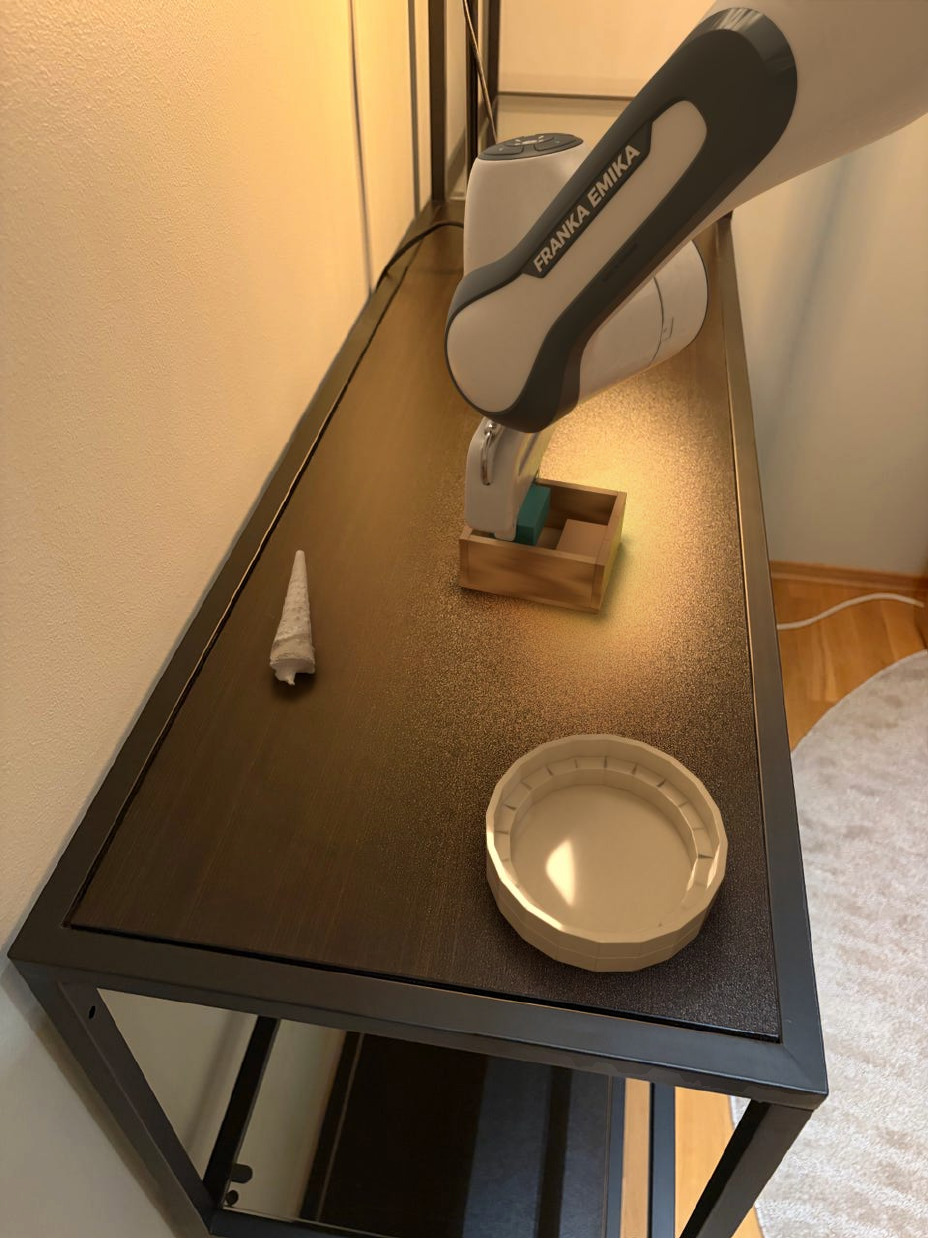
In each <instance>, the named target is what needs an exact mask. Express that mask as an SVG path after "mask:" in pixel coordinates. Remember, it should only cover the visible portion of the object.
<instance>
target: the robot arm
mask: <svg viewBox="0 0 928 1238" xmlns="http://www.w3.org/2000/svg"><path fill="white" fill-rule="evenodd" d="M926 114H928V0H715V1H714V2H713V4H712V5H711V6H710V7H709V9H708V10H707V11H706V12H705V13H704V15H702V17H701V18H700V20H699V21H697V23H696V25H695V26H694V27H693V28H692V30H691V31H690V32H689V33H688V34H687V36H686V37H685V38H684V39H683V41H681V42H680V44H679V45H678V47H676V48H675V50H674V51H673V52H672V54H671V55H670V56H669V57H668V59H666V60H665V62H664V63H663V64H662V66H660V68H658V70H656V72H655V73H654V74H653V75H652V76H651V77H650V78H649V80H648V81H646V83H645V84H644V85H643V87H642V88H641V89H640V90H639V91H638V93H637V94H636V95H635V96H634V97H633V99H632V100H631V101H630V102H629V103H628V105H627V106H626V107H625V108H624V109H623V111H622V112H621V113H620V114H619V115H618V116H617V118H616V119H615V120H614V121H613V123H612V124H611V125H610V127H608V129H607V130H606V132H605V133H604V134H603V135H602V137H601V138H600V140H598V142H597V143H596V144H595V146H594V147H593V148H592V147H591V146H590V145H589V143H588V142H587V141H586V140H584V139H583V138H582V137H579V136H576V135H574V134H570V133H564V132H545V133H535V134H532V135H527V136H523V135H522V136H517V137H514V138H510V139H507V140H504V141H500V142H498V143H495V144H492V145H491V146H488V147H487V148H485V149H484V150H483V151H482V152H481V153H480V154H479V155H478V156H477V157H476V158H475V159H474V162H473V164H472V167H471V170H470V173H469V177H468V182H467V188H466V194H465V204H464V205H465V206H464V219H463V277H462V279H461V280H460V281H459V283H458V284H457V286H456V288H455V291H454V293H453V296H452V299H451V302H450V305H449V308H448V312H447V316H446V322H445V327H444V338H443V339H444V341H443V350H444V360H445V365H446V369H447V372H448V374H449V378H450V379H451V382H452V384H453V385H454V387H455V389H456V391H457V392H458V394H459V395H460V396H461V399H463V400H464V401H465V402H466V403H467V404H468V405H469V406H470V407H471V408H472V409H473V410H474V411H476V412H477V413H479V414H480V415H482V416H483V417H482V418H481V421H480V422H479V425H478V426H477V429H475V432H474V433H473V435H472V438H471V441H470V443H469V447H468V450H467V456H466V465H465V475H464V476H465V477H464V480H465V481H464V500H463V501H464V503H463V504H464V505H463V508H464V509H463V511H464V512H463V514H464V515H463V516H464V517H463V518H464V522H465V524H467V525H468V526H469V527H470V528H472V529H475V530H480V531H484V532H490V533H494V536H495V537H496V538H497V539H501V540H506V541H512V540H514V538H515V536H516V533H517V531H518V523H519V515H518V513H519V510H520V508H521V506H522V504H523V501H524V499H525V497H526V494H527V492H528V490H529V488H530V485H534V486H537V485H538V482H539V478H541V477H540V475H541V466H542V461H543V458H544V456H545V453H546V452H547V449H548V448H549V445H550V442H551V440H552V438H553V436H554V433H555V431H556V429H557V427H558V424H559V422H560V420H561V419H563V418H564V417H566V416H567V415H569V414H570V413H572V412H573V411H574V410H575V409H576V408H578V407H580V406H581V405H584V404H586V403H587V402H590V401H592V400H593V399H595V398H597V397H599V396H602V395H603V394H605V393H606V392H609V391H611V390H612V389H614V388H617V387H618V386H620V385H622V384H624V383H626V382H628V381H629V380H632V379H634V378H635V377H637V376H639V375H640V374H642V373H644V372H646V371H648V370H650V369H652V368H654V367H655V366H658V365H659V364H661V363H663V362H664V361H667V360H668V359H670V358H672V357H674V356H675V355H677V354H678V353H679V352H682V351H683V350H685V349H686V348H688V347H689V346H690V345H691V344H692V343H693V342H694V341H695V340H696V339H697V337H698V336H699V334H700V333H701V330H702V329H703V326H704V324H705V321H706V318H707V315H708V310H709V304H710V278H709V277H710V276H709V273H708V267H707V264H706V261H705V258H704V256H703V253H702V250H701V249H700V247H699V245H698V243H697V241H696V240H694V239H695V237H697V236H698V235H699V234H700V233H702V232H703V231H704V230H706V229H707V228H709V226H711V225H712V224H714V223H715V222H717V221H718V220H720V219H721V218H723V217H724V216H726V215H727V214H729V213H730V212H732V211H733V210H735V209H737V208H739V207H741V206H742V205H743V204H745V203H748V202H749V201H751V200H752V199H754V198H756V197H758V196H760V195H761V194H764V193H766V192H768V191H769V190H771V189H773V188H775V187H777V186H780V185H781V184H784V183H785V182H788V181H790V180H792V179H795V178H797V177H799V176H801V175H803V174H805V173H807V172H810V171H812V170H814V169H817V168H818V167H820V166H823V165H825V164H827V163H830V162H833V161H835V160H836V159H839V158H842V157H844V156H846V155H848V154H851V153H853V152H855V151H857V150H859V149H861V148H864V147H867V146H868V145H870V144H873V143H876V142H878V141H881V140H882V139H884V138H886V137H888V136H891V135H892V134H894V133H897V132H898V131H901V130H902V129H904V128H906V127H907V126H910V125H911V124H913V123H914V122H916V121H917V120H919V119H920V118H922V117H923V116H925V115H926Z"/></svg>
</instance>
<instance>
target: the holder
mask: <svg viewBox="0 0 928 1238" xmlns="http://www.w3.org/2000/svg"><path fill="white" fill-rule="evenodd" d="M537 486H540V487H547V488H550V505H549V514H548V517H547V519H546V522H545V524H544V527H543V529H542V532H541V534H540V537H539V539H538V542H537V544H536V547H534V546H529V545H524V544H518V543H513V542H507V541H502V540H497V539H491V538H489V532H484V531H480V530H475V529H472V528H470V527H469V526H468V525H467V523H465V526H464V528H463V529H462V532H461V534H460V536H459V538H458V545H459V546H458V552H459V586H460V587H461V588H465V589H469V590H473V591H474V590H475V591H480V592H483V593H490V594H493V595H494V594H496V595H499V596H504V597H508V598H509V597H510V598H514V599H520V600H524V601H530V602H533V603H540V604H545V605H550V606H555V607H560V608H565V609H570V610H574V611H580V612H585V613H590V614H593V615H594V614H595V615H600V612H601V608H602V604H603V601H604V598H605V595H606V592H607V587H608V584H609V581H610V578H611V574H612V570H613V568H614V564H615V560H616V557H617V554H618V551H619V547H620V544H621V539H622V535H623V534H622V533H623V532H622V531H623V527H624V526H623V525H624V520H625V513H626V503H627V499H628V492H627V491H620V490H615V489H609V488H603V487H597V486H591V485H585V484H579V483H573V482H568V481H563V480H562V481H561V480H554V479H549V478H543V477H539V482H538V485H537ZM567 519H571V520H577V521H582V522H588V523H594V524H599V525H605V526H607V529H606V532H605V535H604V539H603V542H602V545H601V548H600V551H599V554H598V557H597V558H594V557H588V556H583V555H577V554H572V553H567V552H561V551H556V547H557V544H558V542H559V539H560V536H561V534H562V531H563V529H564V526H565V523H566V521H567Z"/></svg>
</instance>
